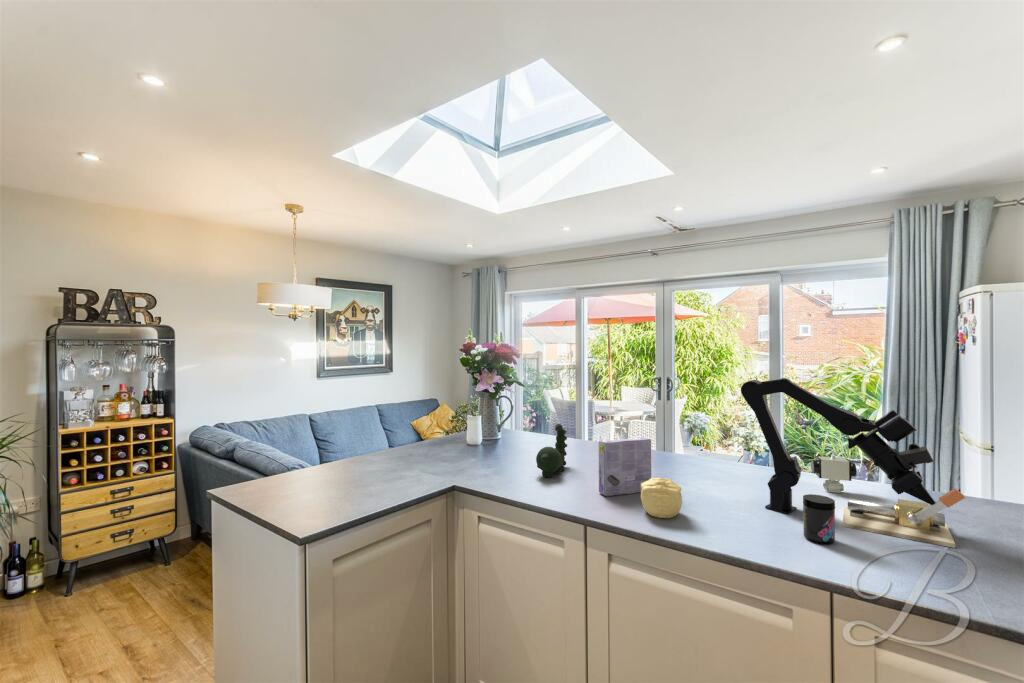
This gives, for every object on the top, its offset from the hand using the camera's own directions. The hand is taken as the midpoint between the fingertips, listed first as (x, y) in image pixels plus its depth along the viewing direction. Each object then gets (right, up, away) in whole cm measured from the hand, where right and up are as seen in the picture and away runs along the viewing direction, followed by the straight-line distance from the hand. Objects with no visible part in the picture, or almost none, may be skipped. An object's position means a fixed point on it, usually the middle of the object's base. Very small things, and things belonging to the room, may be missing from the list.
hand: (933, 503), depth 116 cm
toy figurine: (-91, -10, +60) cm, 110 cm away
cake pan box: (-69, -10, +37) cm, 79 cm away
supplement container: (-30, -9, -1) cm, 31 cm away
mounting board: (-4, -9, +7) cm, 12 cm away
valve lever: (-4, -6, +3) cm, 8 cm away
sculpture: (-64, -10, +17) cm, 67 cm away
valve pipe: (-4, -8, +8) cm, 12 cm away
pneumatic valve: (0, -9, +36) cm, 37 cm away
